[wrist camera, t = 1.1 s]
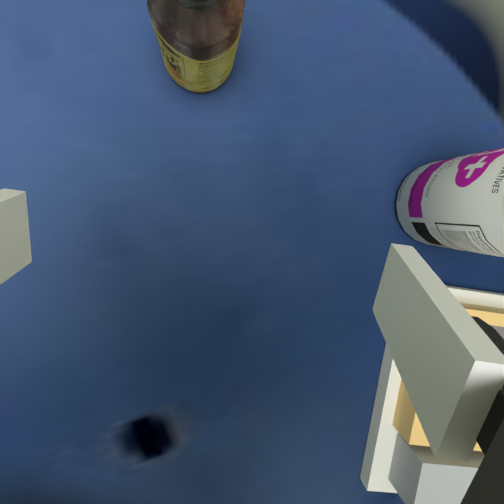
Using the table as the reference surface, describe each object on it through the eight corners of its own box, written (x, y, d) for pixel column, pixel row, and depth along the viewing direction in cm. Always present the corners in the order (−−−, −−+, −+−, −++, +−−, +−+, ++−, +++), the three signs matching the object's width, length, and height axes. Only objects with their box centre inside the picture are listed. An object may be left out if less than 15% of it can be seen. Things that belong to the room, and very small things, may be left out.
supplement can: (382, 180, 41) (482, 164, 26) (456, 151, 41) (596, 120, 26) (406, 255, 42) (515, 281, 27) (478, 227, 42) (624, 237, 28)
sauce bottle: (160, 29, 37) (106, -172, 17) (228, 24, 38) (250, -177, 18) (171, 104, 38) (131, -9, 18) (237, 97, 38) (268, -19, 19)
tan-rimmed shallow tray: (494, 489, 46) (546, 539, 39) (359, 478, 44) (388, 528, 37) (537, 298, 44) (599, 315, 37) (398, 278, 42) (436, 292, 35)
